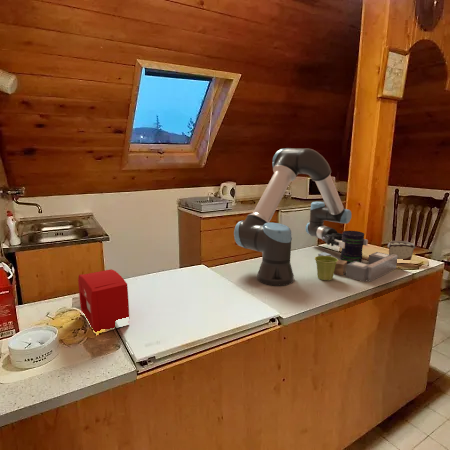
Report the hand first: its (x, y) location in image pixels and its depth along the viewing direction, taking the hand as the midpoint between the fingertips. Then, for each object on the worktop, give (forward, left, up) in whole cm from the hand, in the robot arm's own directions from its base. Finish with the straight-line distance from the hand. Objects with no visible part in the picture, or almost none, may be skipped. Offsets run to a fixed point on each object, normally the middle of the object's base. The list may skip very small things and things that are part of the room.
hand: (355, 244), depth 162 cm
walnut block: (+1, -16, -10) cm, 19 cm away
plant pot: (+1, -27, -10) cm, 28 cm away
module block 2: (+10, +6, -10) cm, 15 cm away
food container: (+12, +19, -10) cm, 25 cm away
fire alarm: (-24, -112, -10) cm, 115 cm away
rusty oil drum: (-2, 0, -10) cm, 10 cm away
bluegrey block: (-8, -14, -10) cm, 19 cm away
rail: (+15, -4, -10) cm, 18 cm away
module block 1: (+10, -15, -10) cm, 20 cm away
